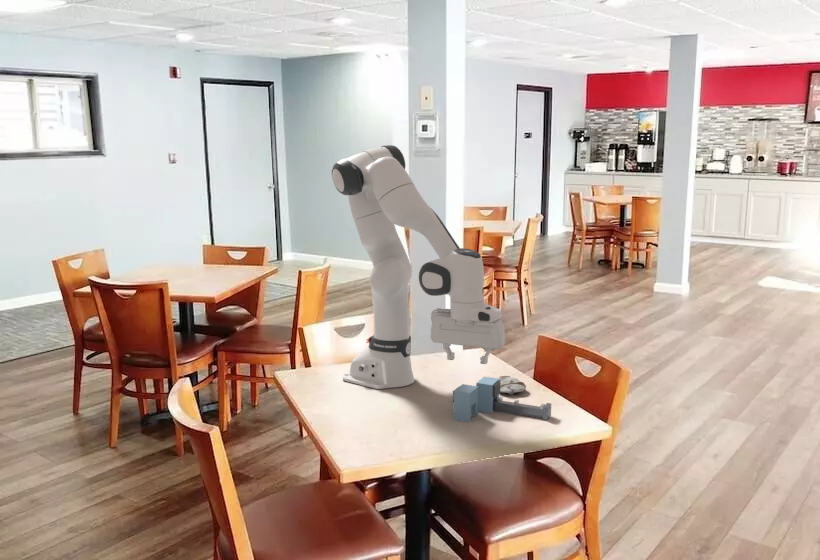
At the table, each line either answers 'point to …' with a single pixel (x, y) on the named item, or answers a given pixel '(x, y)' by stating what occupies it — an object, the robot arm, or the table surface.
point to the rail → (522, 408)
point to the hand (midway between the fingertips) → (467, 361)
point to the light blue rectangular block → (487, 393)
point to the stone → (511, 385)
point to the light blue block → (465, 402)
